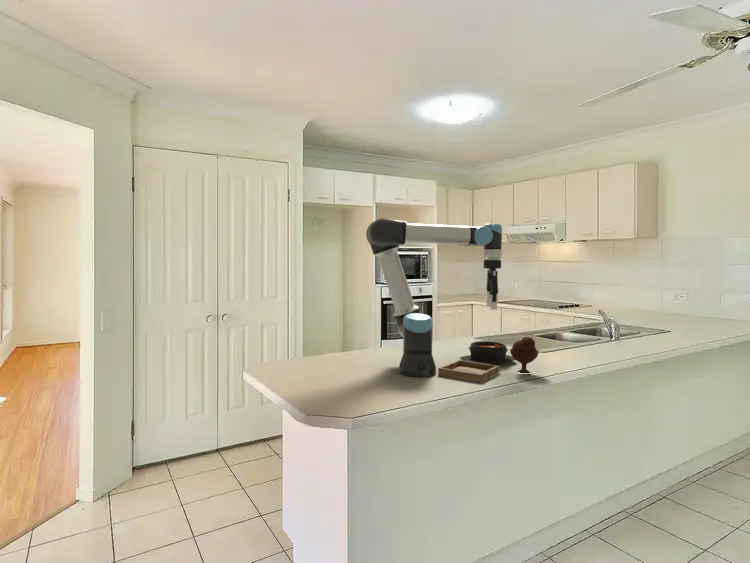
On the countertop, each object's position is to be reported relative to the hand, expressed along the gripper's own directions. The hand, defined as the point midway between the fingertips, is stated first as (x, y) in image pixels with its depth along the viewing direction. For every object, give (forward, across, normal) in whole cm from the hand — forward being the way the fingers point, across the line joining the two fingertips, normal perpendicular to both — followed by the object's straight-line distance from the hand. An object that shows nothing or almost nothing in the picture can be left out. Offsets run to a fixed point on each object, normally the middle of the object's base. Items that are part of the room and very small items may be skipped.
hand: (491, 307), depth 208 cm
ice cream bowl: (+25, -17, -11) cm, 32 cm away
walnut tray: (+24, -21, +11) cm, 34 cm away
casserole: (+25, +1, +1) cm, 25 cm away
